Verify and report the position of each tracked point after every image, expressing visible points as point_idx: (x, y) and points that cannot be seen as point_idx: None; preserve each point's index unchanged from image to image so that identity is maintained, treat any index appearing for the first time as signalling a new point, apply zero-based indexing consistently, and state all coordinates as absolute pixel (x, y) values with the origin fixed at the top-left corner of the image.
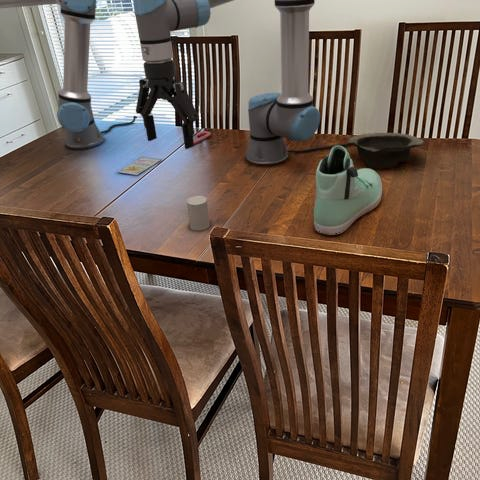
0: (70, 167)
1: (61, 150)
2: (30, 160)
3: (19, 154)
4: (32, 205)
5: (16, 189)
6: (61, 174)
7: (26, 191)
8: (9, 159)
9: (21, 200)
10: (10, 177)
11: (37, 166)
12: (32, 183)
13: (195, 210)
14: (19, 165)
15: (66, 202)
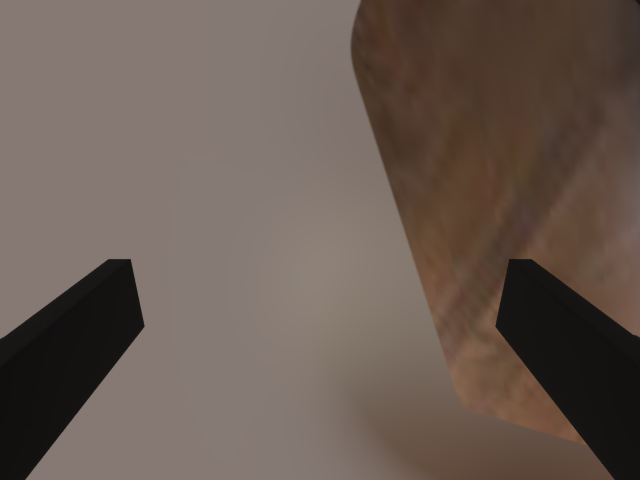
0: (625, 217)
1: (593, 9)
2: (470, 113)
3: (404, 19)
4: (530, 425)
5: (473, 343)
6: (595, 268)
7: (503, 359)
8: (377, 79)
9: (499, 400)
10: (433, 261)
11: (508, 184)
12: None
13: None
14: (438, 160)
15: None
